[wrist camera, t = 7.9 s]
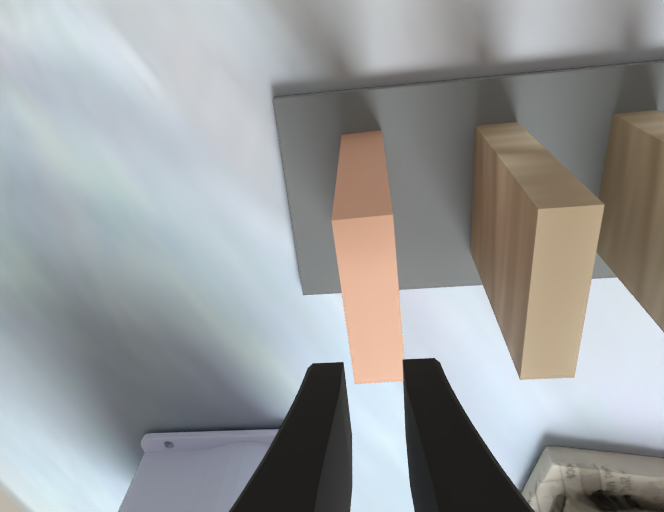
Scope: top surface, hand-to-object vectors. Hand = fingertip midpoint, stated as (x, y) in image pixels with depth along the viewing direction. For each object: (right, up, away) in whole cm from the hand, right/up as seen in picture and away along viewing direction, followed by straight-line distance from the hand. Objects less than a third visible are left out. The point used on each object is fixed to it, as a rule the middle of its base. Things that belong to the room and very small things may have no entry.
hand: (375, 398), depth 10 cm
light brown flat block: (+5, +5, +8) cm, 11 cm away
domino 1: (+1, +5, +9) cm, 10 cm away
